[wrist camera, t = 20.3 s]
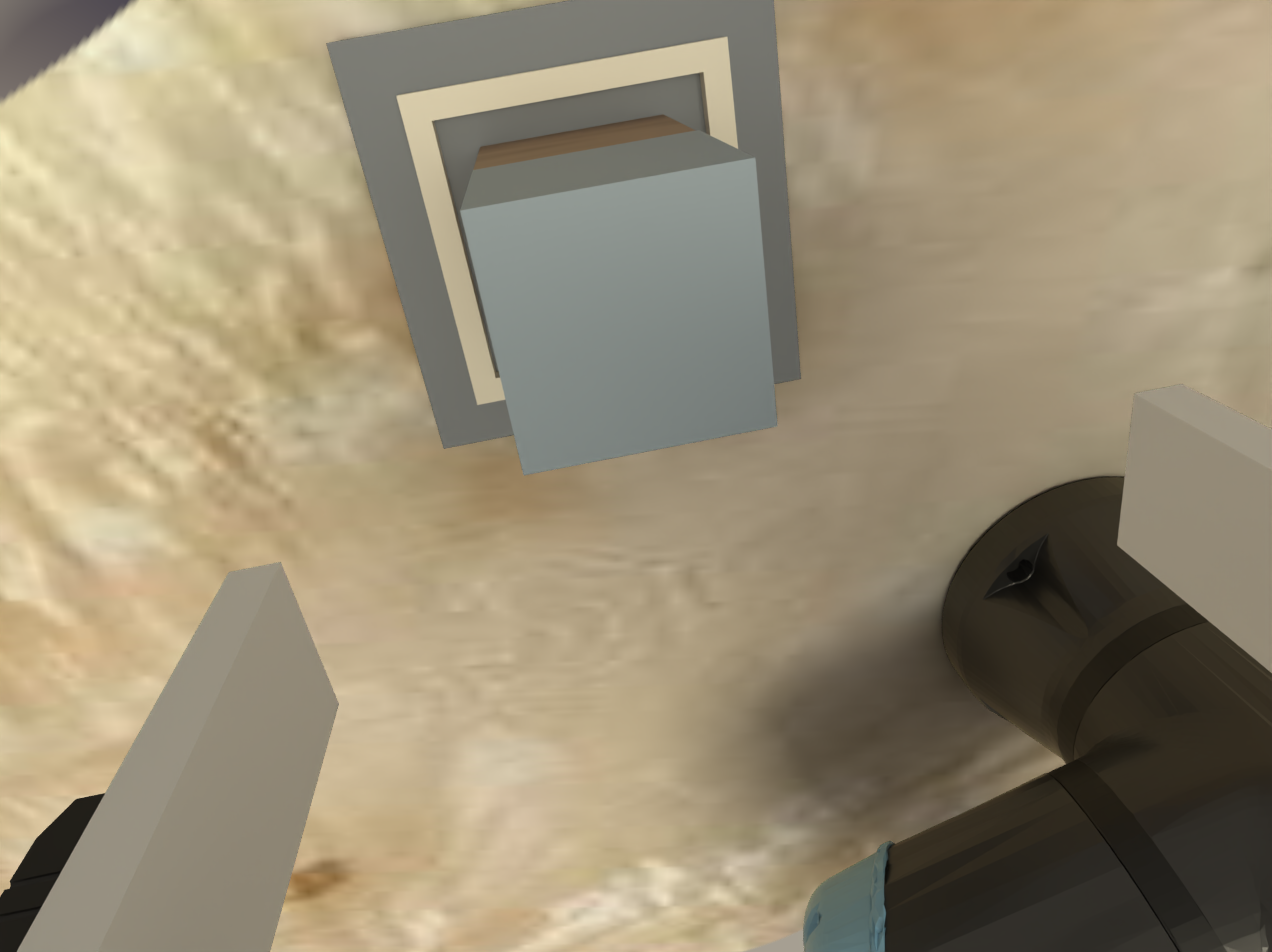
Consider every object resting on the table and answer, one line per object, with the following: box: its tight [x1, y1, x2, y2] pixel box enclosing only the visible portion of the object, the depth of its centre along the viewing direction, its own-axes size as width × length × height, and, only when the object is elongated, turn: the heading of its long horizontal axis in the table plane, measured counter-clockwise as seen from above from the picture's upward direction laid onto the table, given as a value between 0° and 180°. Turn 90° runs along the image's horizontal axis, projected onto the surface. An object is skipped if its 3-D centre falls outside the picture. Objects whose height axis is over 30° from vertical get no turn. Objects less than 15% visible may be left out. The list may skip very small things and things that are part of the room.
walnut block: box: [473, 114, 696, 170], centre depth 31 cm, size 7×7×7 cm
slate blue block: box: [460, 130, 778, 475], centre depth 25 cm, size 7×7×7 cm
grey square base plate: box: [326, 0, 801, 449], centre depth 35 cm, size 16×16×3 cm
